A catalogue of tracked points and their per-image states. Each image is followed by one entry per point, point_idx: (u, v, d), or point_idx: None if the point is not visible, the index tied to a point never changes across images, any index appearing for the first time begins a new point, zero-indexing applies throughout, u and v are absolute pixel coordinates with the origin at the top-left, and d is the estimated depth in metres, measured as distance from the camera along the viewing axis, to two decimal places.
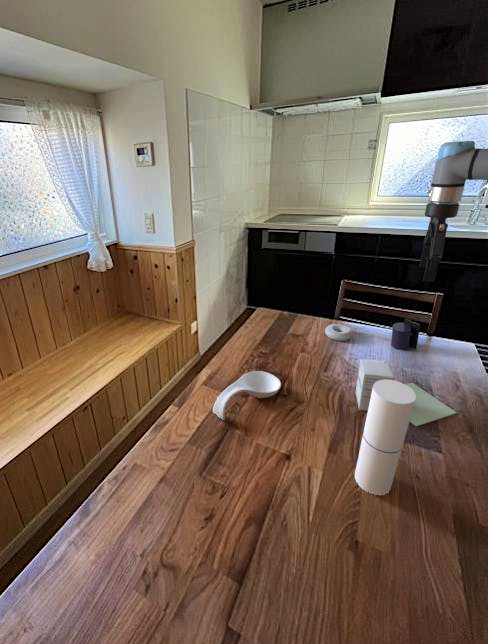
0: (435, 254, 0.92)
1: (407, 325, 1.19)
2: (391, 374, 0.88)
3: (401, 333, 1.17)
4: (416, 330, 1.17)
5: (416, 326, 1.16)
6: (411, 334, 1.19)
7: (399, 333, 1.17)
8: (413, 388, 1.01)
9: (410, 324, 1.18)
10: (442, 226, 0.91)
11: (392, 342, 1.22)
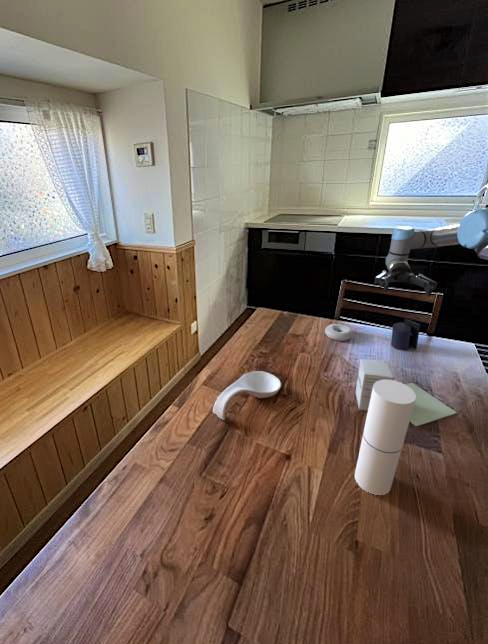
0: None
1: (407, 325, 1.19)
2: (391, 374, 0.88)
3: (401, 333, 1.17)
4: (416, 330, 1.17)
5: (416, 326, 1.16)
6: (411, 334, 1.19)
7: (399, 333, 1.17)
8: (413, 388, 1.01)
9: (410, 324, 1.18)
10: None
11: (392, 342, 1.22)
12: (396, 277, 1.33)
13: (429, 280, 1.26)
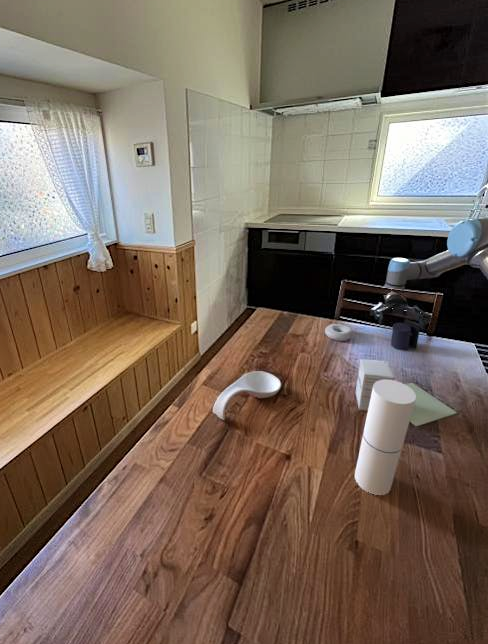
0: None
1: (407, 325, 1.19)
2: (391, 374, 0.88)
3: (401, 333, 1.17)
4: (416, 330, 1.17)
5: (416, 326, 1.16)
6: (411, 334, 1.19)
7: (399, 333, 1.17)
8: (413, 388, 1.01)
9: (410, 324, 1.18)
10: None
11: (392, 342, 1.22)
12: (391, 309, 1.36)
13: (423, 313, 1.29)
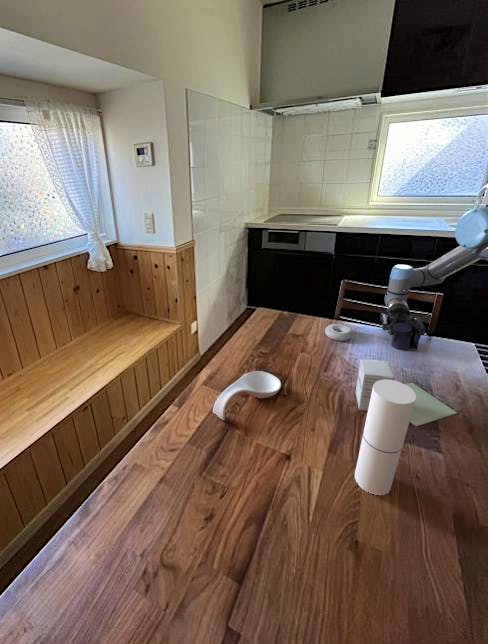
0: (383, 326, 1.25)
1: (408, 325, 1.19)
2: (391, 374, 0.88)
3: (402, 334, 1.17)
4: (417, 330, 1.17)
5: (417, 326, 1.16)
6: (412, 334, 1.19)
7: (400, 333, 1.17)
8: (413, 388, 1.01)
9: (411, 324, 1.18)
10: None
11: (393, 342, 1.21)
12: None
13: None
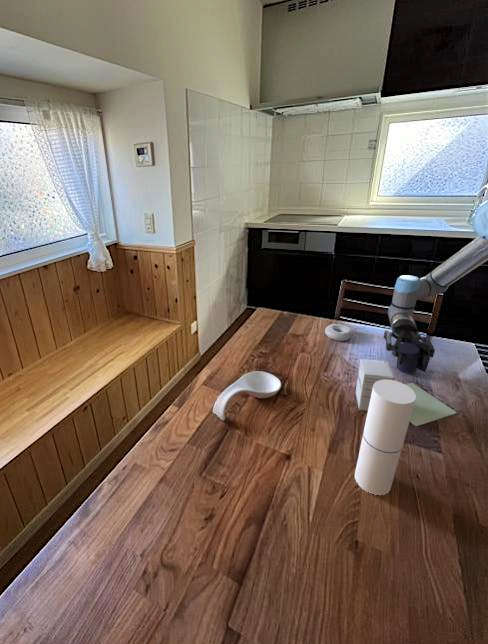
0: (387, 346, 1.11)
1: (415, 346, 1.05)
2: (391, 374, 0.88)
3: (408, 356, 1.04)
4: (425, 351, 1.04)
5: (425, 347, 1.03)
6: (419, 356, 1.06)
7: (406, 355, 1.04)
8: (413, 388, 1.01)
9: (418, 345, 1.05)
10: (384, 334, 1.17)
11: (398, 364, 1.08)
12: None
13: None
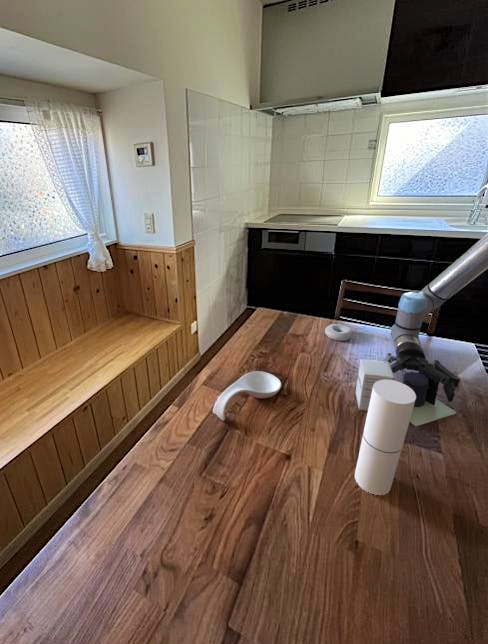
0: None
1: (423, 376, 0.93)
2: (391, 374, 0.88)
3: (416, 388, 0.91)
4: (435, 383, 0.91)
5: (435, 378, 0.90)
6: (428, 387, 0.93)
7: (413, 387, 0.91)
8: None
9: (427, 375, 0.92)
10: None
11: None
12: (405, 364, 1.02)
13: (449, 374, 0.95)
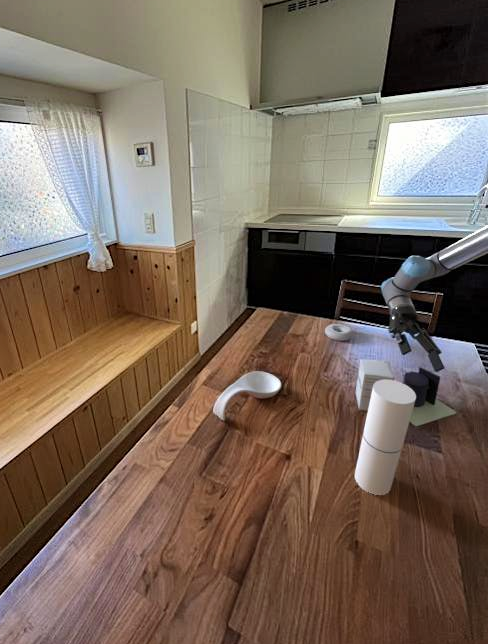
0: (390, 328, 1.07)
1: (423, 376, 0.93)
2: (391, 374, 0.88)
3: (416, 388, 0.91)
4: (435, 383, 0.91)
5: (435, 378, 0.90)
6: (428, 387, 0.93)
7: (413, 387, 0.91)
8: None
9: (427, 375, 0.92)
10: (392, 315, 1.12)
11: None
12: (406, 328, 1.10)
13: (435, 345, 1.10)
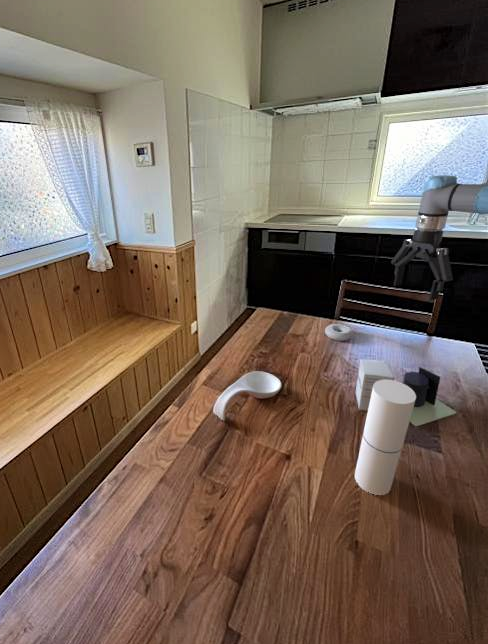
0: (447, 276, 1.01)
1: (423, 376, 0.93)
2: (391, 374, 0.88)
3: (416, 388, 0.91)
4: (435, 383, 0.91)
5: (435, 378, 0.90)
6: (428, 387, 0.93)
7: (413, 387, 0.91)
8: None
9: (427, 375, 0.92)
10: (446, 251, 1.00)
11: None
12: None
13: (402, 257, 1.16)
